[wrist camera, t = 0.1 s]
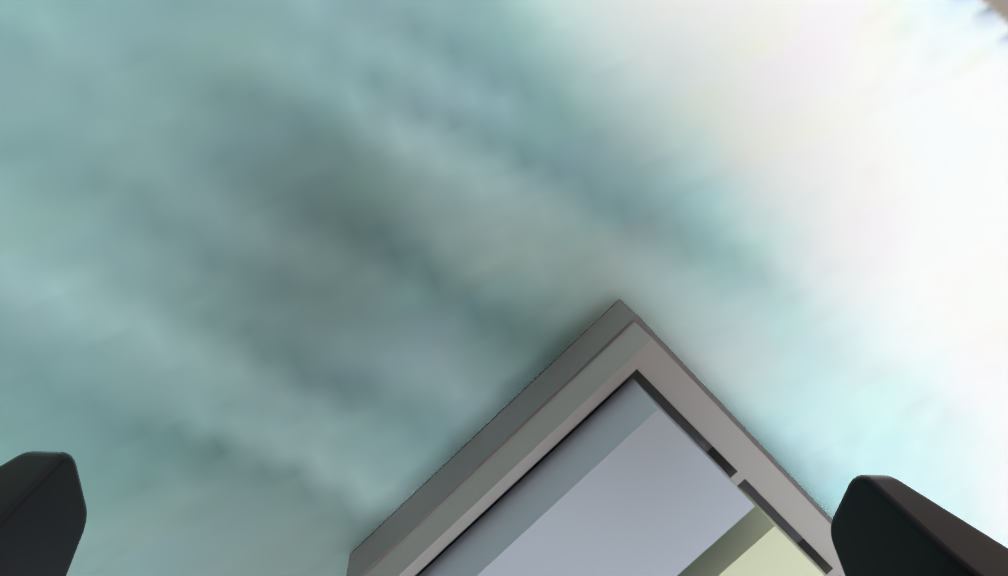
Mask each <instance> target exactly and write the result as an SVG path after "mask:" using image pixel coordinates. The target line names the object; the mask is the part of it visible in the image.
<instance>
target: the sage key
mask: <svg viewBox="0 0 1008 576" xmlns="http://www.w3.org/2000/svg"><path fill="white" fill-rule="evenodd" d="M738 487H739V488H740V489H741V491H742V492H743V493H744V494H745V495H746V496H747V498H748V499H749V500H750V501H751V502H752V503H753V504H754V506H755V507H754V508H753V509H752V510H751V511H749V512H748V513H747V514H746V515H745V516H744V517H743V518H741V519H740V520H739V521H738V522H737V523H736V524H735V525H734V526H732V527H731V528H730V529H729V530H728V531H727V532H726V533H725V534H723V535H722V536H721V537H720V538H719V539H718V540H717V541H716V542H714V543H713V544H712V545H711V546H710V547H709V548H708V549H707V550H705V551H704V552H703V553H702V554H701V555H700V556H699V557H698V558H696V559H695V560H694V561H693V562H692V563H691V564H690V565H689V566H687V567H686V568H685V569H684V570H683V571H682V572H681V573H680V574H678V575H677V576H828V575H827V574H826V573H825V572H824V571H823V570H822V569H821V568H820V566H819V565H818V564H817V563H816V562H815V561H814V560H813V559H812V558H811V557H810V556H809V555H808V554H807V553H806V552H805V551H804V550H803V549H802V548H801V547H800V546H799V545H798V544H797V543H796V542H795V541H794V540H793V539H792V538H791V537H790V536H789V535H788V534H787V533H786V532H785V531H784V530H783V529H782V528H781V527H780V526H779V525H778V524H777V523H776V522H775V521H774V520H773V519H772V518H771V517H770V516H769V515H768V514H767V513H766V512H765V511H764V510H763V509H762V508H761V507H760V506H759V505H758V504H757V503H756V502H755V501H754V500H753V499H752V498H751V496H750V495H749V494H748V493H747V492H746V491H745V490H744V489H743V488H742V487H741V486H740V485H738Z"/></svg>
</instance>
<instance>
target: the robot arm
mask: <svg viewBox="0 0 1008 576" xmlns="http://www.w3.org/2000/svg"><path fill="white" fill-rule="evenodd" d="M86 516H87V510H86V504H85V500H84V496H83V491H82V487H81V483H80V479H79V475H78V471H77V467H76V463H75V461H74V459H73V457H72V456H71V455H70V454H68V453H64V452H41V451H32V452H26V453H23V454H21V455H19V456H17V457H15V458H13V459H12V460H10V461H8V462H7V463H5V464H3V465H2V466H0V576H66V574H67V572H68V569H69V567H70V564H71V562H72V559H73V557H74V554H75V551H76V549H77V546H78V544H79V541H80V539H81V536H82V534H83V531H84V527H85V523H86ZM831 538H832V542H833V545H834V548H835V550H836V553H837V556H838V558H839V561H840V564H841V566H842V569H843V572H844V574H845V576H1008V548H1006V547H1004V546H1003V545H1001V544H1000V543H998V542H996V541H995V540H993V539H992V538H990V537H988V536H987V535H985V534H984V533H982V532H980V531H979V530H977V529H976V528H974V527H972V526H971V525H969V524H968V523H966V522H964V521H963V520H961V519H960V518H958V517H956V516H955V515H953V514H951V513H950V512H948V511H947V510H945V509H943V508H942V507H940V506H939V505H937V504H935V503H934V502H932V501H931V500H929V499H927V498H926V497H924V496H923V495H921V494H919V493H918V492H916V491H915V490H913V489H911V488H910V487H908V486H907V485H905V484H903V483H902V482H900V481H899V480H897V479H895V478H893V477H890V476H884V475H860V476H857V477H856V478H854V479H853V480H852V481H851V483H850V484H849V486H848V488H847V490H846V492H845V494H844V497H843V499H842V501H841V503H840V505H839V507H838V509H837V511H836V513H835V515H834V517H833V519H832V522H831Z"/></svg>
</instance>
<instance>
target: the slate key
mask: <svg viewBox="0 0 1008 576" xmlns="http://www.w3.org/2000/svg"><path fill="white" fill-rule="evenodd" d="M754 507H755V506H754V504H753V503H752V502H751V501H750V500H749V499H748V498H747V496H746V495H745V494H744V493H743V492H742V491H741V489H740V488H739V487H738V486H737V485H736V484H735V482H734V481H733V480H732V479H731V478H730V477H729V476H728V474H727V473H726V472H725V471H724V470H723V469H722V467H721V466H720V465H719V464H718V463H717V462H716V461H715V460H714V459H713V458H712V457H711V456H710V455H709V454H708V453H707V452H706V451H705V450H704V449H703V448H702V447H701V446H700V445H699V444H698V443H697V442H696V441H695V440H694V439H693V438H692V437H691V436H690V435H689V434H688V433H687V432H686V431H685V430H684V429H683V428H682V427H681V426H680V425H679V424H678V423H677V422H676V421H675V420H674V419H673V418H672V417H671V416H670V415H669V414H668V413H667V412H666V411H665V410H664V409H663V408H662V407H661V406H660V405H659V404H658V403H657V402H656V401H655V400H654V399H653V398H652V397H651V396H650V395H649V394H648V393H647V392H646V391H645V390H644V389H643V388H642V387H641V386H640V385H639V384H638V383H637V382H636V381H635V380H634V379H633V378H631V379H629V380H628V381H627V382H626V383H625V384H624V385H623V386H622V387H621V388H620V389H619V390H618V391H617V392H616V393H614V394H613V395H612V396H611V397H610V398H609V399H608V400H607V401H606V402H605V403H604V404H603V405H602V406H600V407H599V408H598V409H597V410H596V411H595V412H594V413H593V414H592V415H591V416H590V417H589V418H588V419H587V420H585V421H584V422H583V423H582V424H581V425H580V426H579V427H578V428H577V429H576V430H575V431H574V432H573V433H571V434H570V435H569V436H568V437H567V438H566V439H565V440H564V441H563V442H562V443H561V444H560V445H559V446H557V447H556V448H555V449H554V450H553V451H552V452H551V453H550V454H549V455H548V456H547V457H546V458H545V459H544V460H542V461H541V462H540V463H539V464H538V465H537V466H536V467H535V468H534V469H533V470H532V471H531V472H530V473H528V474H527V475H526V476H525V477H524V478H523V479H522V480H521V481H520V482H519V483H518V484H517V485H516V486H515V487H513V488H512V489H511V490H510V491H509V492H508V493H507V494H506V495H505V496H504V497H503V498H502V499H501V500H499V501H498V502H497V503H496V504H495V505H494V506H493V507H492V508H491V509H490V510H489V511H488V512H487V513H486V514H484V515H483V516H482V517H481V518H480V519H479V520H478V521H477V522H476V523H475V524H474V525H473V526H472V527H470V528H469V529H468V530H467V531H466V532H465V533H464V534H463V535H462V536H461V537H460V538H459V539H458V540H457V541H455V542H454V543H453V544H452V545H451V546H450V547H449V548H448V549H447V550H446V551H445V552H444V553H443V554H441V555H440V556H439V557H438V558H437V559H436V560H435V561H434V562H433V563H432V564H431V565H430V566H429V567H428V568H426V569H425V570H424V571H423V572H422V573H421V574H420V575H419V576H677V575H678V574H680V573H681V572H682V571H683V570H684V569H685V568H686V567H687V566H689V565H690V564H691V563H692V562H693V561H694V560H695V559H696V558H698V557H699V556H700V555H701V554H702V553H703V552H704V551H705V550H707V549H708V548H709V547H710V546H711V545H712V544H713V543H714V542H716V541H717V540H718V539H719V538H720V537H721V536H722V535H723V534H725V533H726V532H727V531H728V530H729V529H730V528H731V527H732V526H734V525H735V524H736V523H737V522H738V521H739V520H740V519H741V518H743V517H744V516H745V515H746V514H747V513H748V512H749V511H751V510H752V509H753V508H754Z"/></svg>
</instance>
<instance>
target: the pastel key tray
mask: <svg viewBox="0 0 1008 576" xmlns="http://www.w3.org/2000/svg"><path fill="white" fill-rule="evenodd" d="M631 378H633V379H634V380H635V381H636V382H637V383H638V384H639V385H640V386H641V387H642V388H643V389H644V390H645V391H646V392H647V393H648V394H649V395H650V396H651V397H652V398H653V399H654V400H655V401H656V402H657V403H658V404H659V405H660V406H661V407H662V408H663V409H664V410H665V411H666V412H667V413H668V414H669V415H670V416H671V417H672V418H673V419H674V420H675V421H676V422H677V423H678V424H679V425H680V426H681V427H682V428H683V429H684V430H685V431H686V432H687V433H688V434H689V435H690V436H691V437H692V438H693V439H694V440H695V441H696V442H697V443H698V444H699V445H700V446H701V447H702V448H703V449H704V450H705V451H706V452H707V453H708V454H709V455H710V456H711V457H712V458H713V459H714V460H715V461H716V462H717V463H718V464H719V465H720V466H721V467H722V469H723V470H724V471H725V472H726V473H727V474H728V476H729V477H730V478H731V479H732V480H733V481H734V482H735V484H736V485H737V486H738V485H740V486H741V487H742V488H743V489H744V490H745V491H746V492H747V493H748V494H749V495H750V496H751V498H752V499H753V500H754V501H755V502H756V503H757V504H758V505H759V506H760V507H761V508H762V509H763V510H764V511H765V512H766V513H767V514H768V515H769V516H770V517H771V518H772V519H773V520H774V521H775V522H776V523H777V524H778V525H779V526H780V527H781V528H782V529H783V530H784V531H785V532H786V533H787V534H788V535H789V536H790V537H791V538H792V539H793V540H794V541H795V542H796V543H797V544H798V545H799V546H800V547H801V548H802V549H803V550H804V551H805V552H806V553H807V554H808V555H809V556H810V557H811V558H812V559H813V560H814V561H815V562H816V563H817V564H818V565H819V566H820V568H821V569H822V570H823V571H824V572H825V573H826V574H827V575H828V576H845V574H844V572H843V569H842V566H841V564H840V561H839V558H838V556H837V553H836V550H835V548H834V545H833V542H832V538H831V522H832V519H831V518H830V517H829V516H828V515H827V514H826V513H825V512H824V511H823V510H822V509H821V508H820V507H819V505H818V504H817V503H816V502H815V501H814V500H813V499H812V498H811V497H810V496H809V495H808V494H807V493H806V492H805V491H804V490H803V489H802V488H801V487H800V486H799V485H798V483H797V482H796V481H795V480H794V479H793V478H792V477H791V476H790V475H789V474H788V473H787V472H786V471H785V470H784V469H783V468H782V467H781V466H780V465H779V464H778V462H777V461H776V460H775V459H774V458H773V457H772V456H771V455H770V454H769V453H768V452H767V451H766V450H765V449H764V448H763V447H762V446H761V445H760V444H759V443H758V442H757V440H756V439H755V438H754V437H753V436H752V435H751V434H750V433H749V432H748V431H747V430H746V429H745V428H744V427H743V426H742V425H741V424H740V423H739V422H738V421H737V420H736V418H735V417H734V416H733V415H732V414H731V413H730V412H729V411H728V410H727V409H726V408H725V407H724V406H723V405H722V404H721V403H720V402H719V401H718V400H717V399H716V397H715V396H714V395H713V394H712V393H711V392H710V391H709V390H708V389H707V388H706V387H705V386H704V385H703V384H702V383H701V382H700V381H699V380H698V379H697V378H696V377H695V375H694V374H693V373H692V372H691V371H690V370H689V369H688V368H687V367H686V366H685V365H684V364H683V363H682V362H681V361H680V360H679V359H678V358H677V357H676V356H675V354H674V353H673V352H672V351H671V350H670V349H669V348H668V347H667V346H666V345H665V344H664V343H663V342H662V341H661V340H660V339H659V338H658V337H657V336H656V335H655V334H654V332H653V331H652V330H651V329H650V328H649V327H648V326H647V325H646V324H645V323H644V322H643V321H642V320H641V319H640V318H639V317H638V316H637V315H636V314H635V313H634V312H633V311H632V310H631V309H630V308H628V307H627V306H626V305H625V304H624V303H623V302H622V301H621V300H618V301H617V302H616V303H615V304H614V305H613V306H612V307H611V308H610V309H609V310H608V311H607V312H606V313H605V314H604V315H603V316H602V317H601V318H599V319H598V320H597V321H596V322H595V323H594V324H593V325H592V326H591V327H590V328H589V329H588V330H587V331H586V332H585V333H584V334H583V335H582V336H580V337H579V338H578V339H577V340H576V341H575V342H574V343H573V344H572V345H571V346H570V347H569V348H568V349H567V350H566V351H565V352H564V353H563V354H561V355H560V356H559V357H558V358H557V359H556V360H555V361H554V362H553V363H552V364H551V365H550V366H549V367H548V368H547V369H546V370H545V371H544V372H542V373H541V374H540V375H539V376H538V377H537V378H536V379H535V380H534V381H533V382H532V383H531V384H530V385H529V386H528V387H527V388H526V389H524V390H523V391H522V392H521V393H520V394H519V395H518V396H517V397H516V398H515V399H514V400H513V401H512V402H511V403H510V404H509V405H508V406H507V407H505V408H504V409H503V410H502V411H501V412H500V413H499V414H498V415H497V416H496V417H495V418H494V419H493V420H492V421H491V422H490V423H489V424H488V425H486V426H485V427H484V428H483V429H482V430H481V431H480V432H479V433H478V434H477V435H476V436H475V437H474V438H473V439H472V440H471V441H470V442H469V443H467V444H466V445H465V446H464V447H463V448H462V449H461V450H460V451H459V452H458V453H457V454H456V455H455V456H454V457H453V458H452V459H451V460H450V461H448V462H447V463H446V464H445V465H444V466H443V467H442V468H441V469H440V470H439V471H438V472H437V473H436V474H435V475H434V476H433V477H432V478H431V479H429V480H428V481H427V482H426V483H425V484H424V485H423V486H422V487H421V488H420V489H419V490H418V491H417V492H416V493H415V494H414V495H413V496H412V497H410V498H409V499H408V500H407V501H406V502H405V503H404V504H403V505H402V506H401V507H400V508H399V509H398V510H397V511H396V512H395V513H394V514H393V515H391V516H390V517H389V518H388V519H387V520H386V521H385V522H384V523H383V524H382V525H381V526H380V527H379V528H378V529H377V530H376V531H375V532H374V533H372V534H371V535H370V536H369V537H368V538H367V539H366V540H365V541H364V542H363V543H362V544H361V545H360V546H359V547H358V548H357V549H356V550H355V551H353V552H352V553H351V554H350V559H349V565H348V570H347V576H419V575H420V574H421V573H422V572H423V571H424V570H425V569H426V568H428V567H429V566H430V565H431V564H432V563H433V562H434V561H435V560H436V559H437V558H438V557H439V556H440V555H441V554H443V553H444V552H445V551H446V550H447V549H448V548H449V547H450V546H451V545H452V544H453V543H454V542H455V541H457V540H458V539H459V538H460V537H461V536H462V535H463V534H464V533H465V532H466V531H467V530H468V529H469V528H470V527H472V526H473V525H474V524H475V523H476V522H477V521H478V520H479V519H480V518H481V517H482V516H483V515H484V514H486V513H487V512H488V511H489V510H490V509H491V508H492V507H493V506H494V505H495V504H496V503H497V502H498V501H499V500H501V499H502V498H503V497H504V496H505V495H506V494H507V493H508V492H509V491H510V490H511V489H512V488H513V487H515V486H516V485H517V484H518V483H519V482H520V481H521V480H522V479H523V478H524V477H525V476H526V475H527V474H528V473H530V472H531V471H532V470H533V469H534V468H535V467H536V466H537V465H538V464H539V463H540V462H541V461H542V460H544V459H545V458H546V457H547V456H548V455H549V454H550V453H551V452H552V451H553V450H554V449H555V448H556V447H557V446H559V445H560V444H561V443H562V442H563V441H564V440H565V439H566V438H567V437H568V436H569V435H570V434H571V433H573V432H574V431H575V430H576V429H577V428H578V427H579V426H580V425H581V424H582V423H583V422H584V421H585V420H587V419H588V418H589V417H590V416H591V415H592V414H593V413H594V412H595V411H596V410H597V409H598V408H599V407H600V406H602V405H603V404H604V403H605V402H606V401H607V400H608V399H609V398H610V397H611V396H612V395H613V394H614V393H616V392H617V391H618V390H619V389H620V388H621V387H622V386H623V385H624V384H625V383H626V382H627V381H628V380H629V379H631Z"/></svg>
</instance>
